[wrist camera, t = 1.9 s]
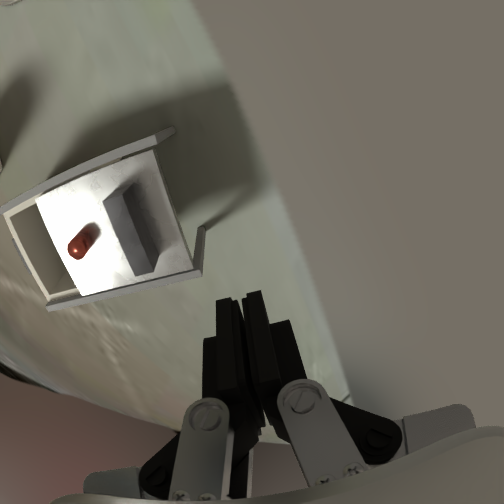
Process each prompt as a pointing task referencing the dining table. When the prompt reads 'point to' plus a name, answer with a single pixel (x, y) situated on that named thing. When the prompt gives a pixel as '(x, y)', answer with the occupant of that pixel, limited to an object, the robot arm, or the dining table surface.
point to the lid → (116, 225)
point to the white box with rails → (45, 252)
